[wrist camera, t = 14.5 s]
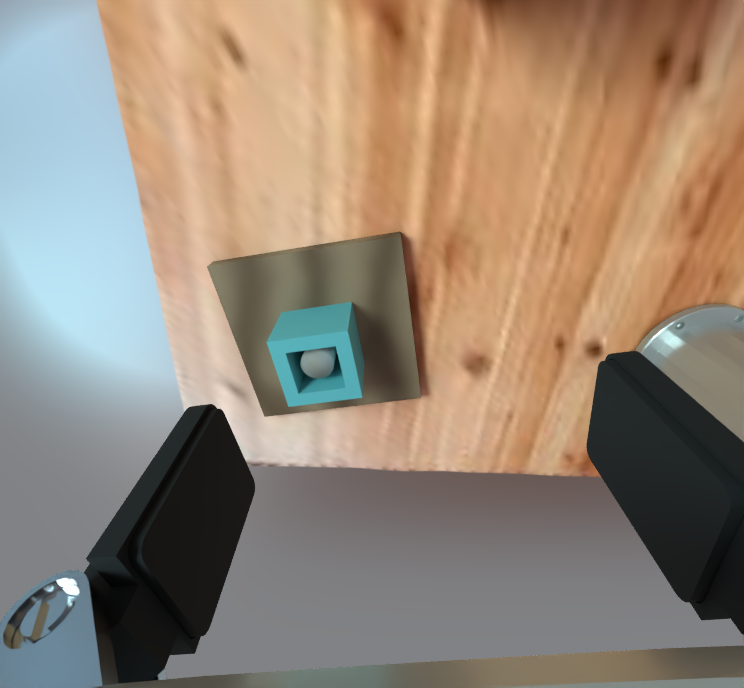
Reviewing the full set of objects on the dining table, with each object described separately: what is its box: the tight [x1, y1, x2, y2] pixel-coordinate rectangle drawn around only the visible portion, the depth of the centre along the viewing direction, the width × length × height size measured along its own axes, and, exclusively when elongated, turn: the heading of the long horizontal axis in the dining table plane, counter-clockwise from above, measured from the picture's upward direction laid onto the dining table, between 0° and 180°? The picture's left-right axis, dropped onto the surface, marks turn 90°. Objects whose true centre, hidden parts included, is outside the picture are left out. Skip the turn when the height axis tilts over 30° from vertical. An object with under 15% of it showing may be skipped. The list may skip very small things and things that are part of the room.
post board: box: [207, 232, 421, 417], centre depth 38 cm, size 18×18×6 cm
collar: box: [267, 302, 364, 407], centre depth 37 cm, size 7×7×6 cm
